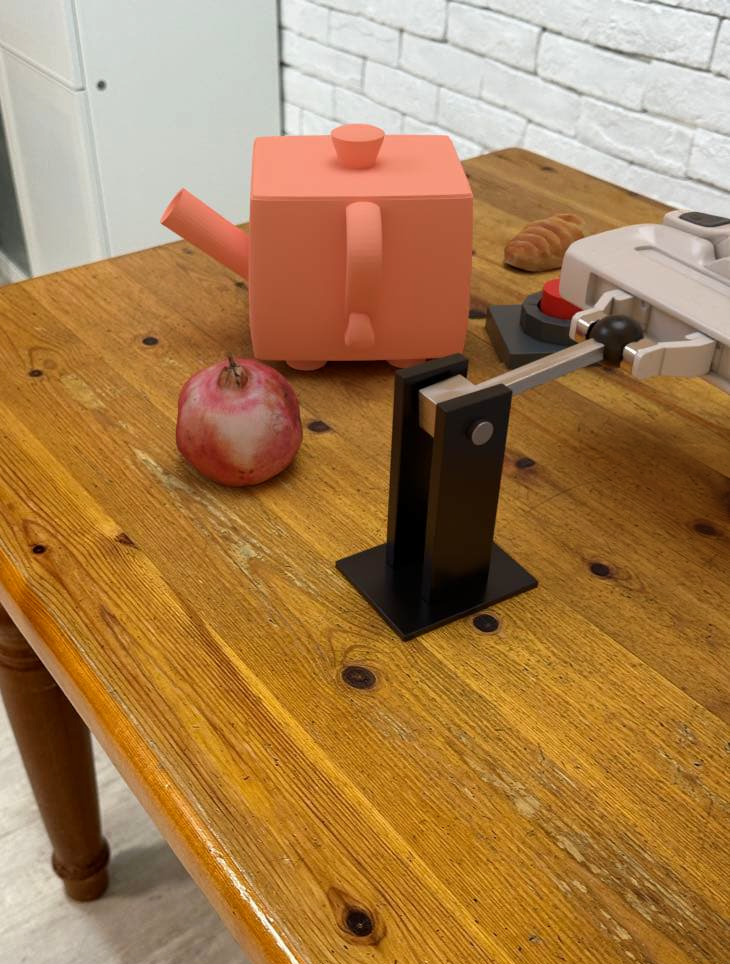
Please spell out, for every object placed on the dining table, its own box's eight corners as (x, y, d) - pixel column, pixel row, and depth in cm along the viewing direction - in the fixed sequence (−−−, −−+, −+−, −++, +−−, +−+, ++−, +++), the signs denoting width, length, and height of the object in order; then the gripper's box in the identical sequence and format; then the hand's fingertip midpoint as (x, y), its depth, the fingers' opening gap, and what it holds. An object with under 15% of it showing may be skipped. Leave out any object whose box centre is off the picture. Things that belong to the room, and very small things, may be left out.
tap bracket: (461, 527, 71) (482, 329, 62) (536, 595, 66) (572, 389, 56) (334, 575, 67) (337, 371, 58) (403, 651, 62) (418, 439, 52)
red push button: (580, 299, 90) (584, 277, 89) (593, 320, 87) (597, 298, 86) (535, 301, 90) (538, 279, 89) (546, 322, 87) (550, 299, 86)
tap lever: (615, 345, 65) (621, 298, 63) (652, 367, 63) (659, 319, 61) (414, 427, 60) (413, 379, 58) (446, 454, 58) (446, 405, 56)
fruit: (228, 421, 82) (221, 302, 75) (328, 460, 77) (329, 338, 71) (148, 476, 76) (133, 352, 69) (252, 522, 71) (245, 394, 65)
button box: (604, 323, 95) (611, 281, 92) (635, 372, 88) (645, 329, 85) (484, 327, 94) (489, 286, 92) (507, 377, 87) (512, 334, 85)
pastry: (537, 283, 101) (542, 245, 99) (485, 262, 105) (488, 225, 103) (596, 257, 106) (602, 220, 104) (544, 238, 110) (549, 202, 108)
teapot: (160, 405, 83) (135, 182, 72) (181, 283, 101) (163, 89, 90) (472, 400, 84) (495, 178, 73) (438, 280, 102) (453, 87, 91)
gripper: (888, 412, 62) (722, 477, 57) (646, 285, 76) (493, 327, 71) (927, 315, 58) (752, 375, 53) (663, 199, 72) (504, 237, 67)
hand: (602, 346), depth 62 cm, fingers closed on tap lever, 3 cm apart
